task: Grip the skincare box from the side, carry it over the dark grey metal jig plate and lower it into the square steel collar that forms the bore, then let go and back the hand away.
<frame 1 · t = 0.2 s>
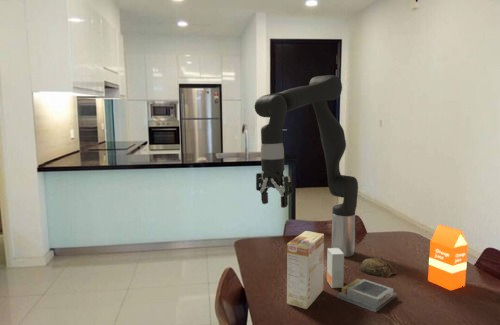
hand: (274, 205, 126), 28 cm above the table, tool pointing down, fingers open, 8 cm apart
bread roll: (378, 271, 143), on the table
coffeecake box: (305, 297, 122), on the table
skincare box: (334, 284, 131), on the table
orange juice: (446, 283, 132), on the table
jig: (366, 297, 121), on the table
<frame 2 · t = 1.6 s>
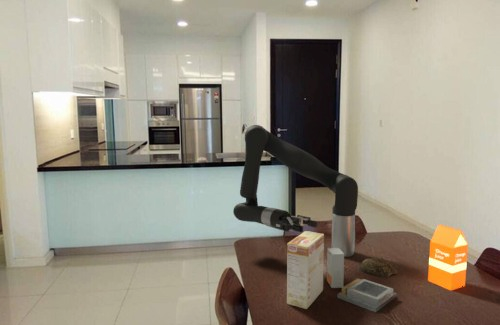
hand: (309, 227, 136), 18 cm above the table, tool horizontal, fingers open, 8 cm apart
nothing on the table moved.
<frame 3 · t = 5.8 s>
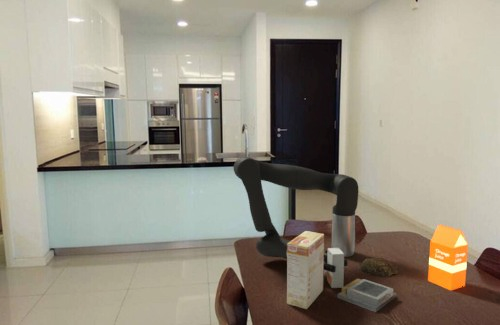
hand: (341, 266, 129), 7 cm above the table, tool horizontal, fingers closed on skincare box, 7 cm apart
skincare box: (334, 284, 131), on the table, touching gripper
everything else where it was.
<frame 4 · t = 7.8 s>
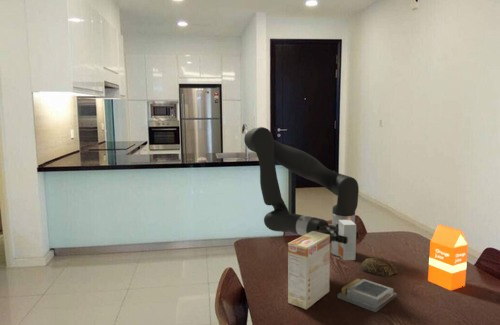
hand: (353, 238, 124), 18 cm above the table, tool horizontal, fingers closed on skincare box, 7 cm apart
coffeecake box: (309, 297, 121), on the table, touching hand
skincare box: (346, 257, 126), point 11 cm above the table, touching gripper
everything else where it was.
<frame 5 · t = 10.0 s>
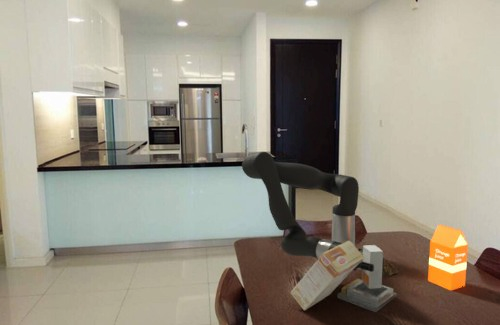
hand: (378, 265, 118), 12 cm above the table, tool horizontal, fingers closed on skincare box, 7 cm apart
coffeecake box: (310, 293, 120), point 2 cm above the table
skincare box: (371, 285, 120), point 4 cm above the table, touching gripper
everything else where it was.
when the fingers open (9 cm above the table, at t = 11.1 s): skincare box moves 1 cm, resting on jig.
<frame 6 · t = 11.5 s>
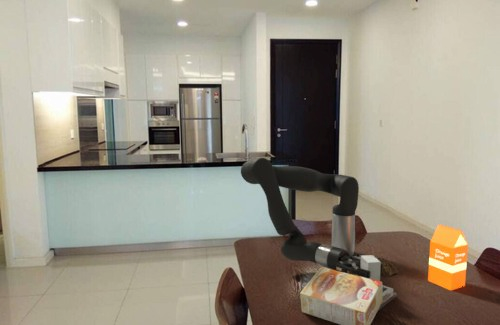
hand: (376, 271, 118), 10 cm above the table, tool horizontal, fingers open, 8 cm apart
coffeecake box: (310, 288, 117), point 5 cm above the table, touching jig
skincare box: (369, 295, 121), point 1 cm above the table, touching jig
everything else where it was.
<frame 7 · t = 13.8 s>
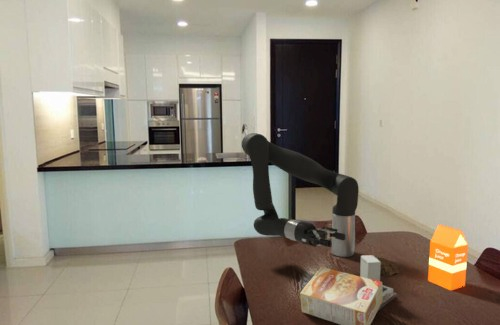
hand: (338, 240, 128), 16 cm above the table, tool horizontal, fingers open, 8 cm apart
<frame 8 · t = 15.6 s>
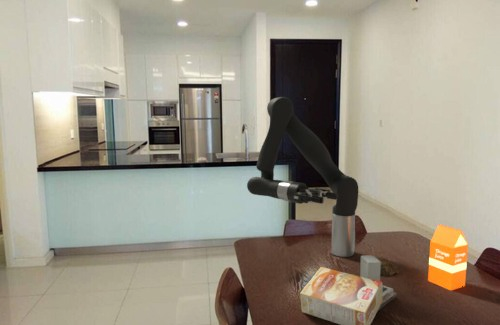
hand: (330, 198, 128), 30 cm above the table, tool horizontal, fingers open, 8 cm apart
at the end: skincare box inside the target area on the jig (0.2 cm from its centre), point 1.0 cm above the jig's base; skincare box tilted 0°; the gripper is holding nothing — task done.
